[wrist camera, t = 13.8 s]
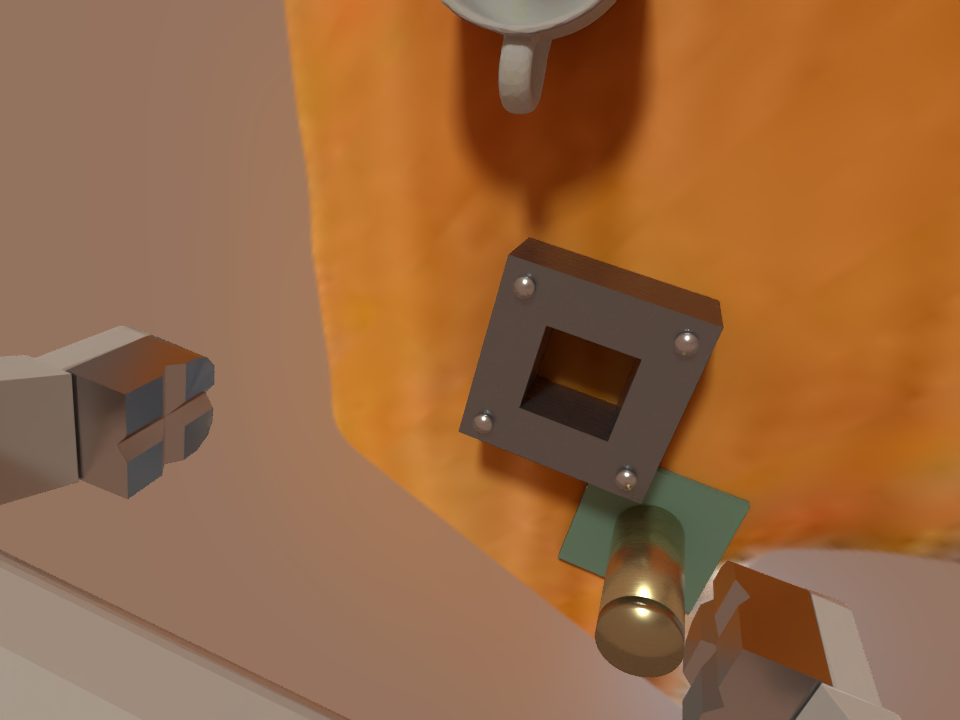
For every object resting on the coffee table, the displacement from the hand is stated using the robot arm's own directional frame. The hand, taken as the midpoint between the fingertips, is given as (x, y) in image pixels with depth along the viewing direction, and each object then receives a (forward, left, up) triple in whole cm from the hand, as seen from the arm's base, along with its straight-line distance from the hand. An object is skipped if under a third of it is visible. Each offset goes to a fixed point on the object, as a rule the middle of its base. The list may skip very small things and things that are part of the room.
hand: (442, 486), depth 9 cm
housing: (-1, +10, -31) cm, 32 cm away
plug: (-9, +21, -30) cm, 38 cm away
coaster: (-9, +21, -31) cm, 38 cm away
